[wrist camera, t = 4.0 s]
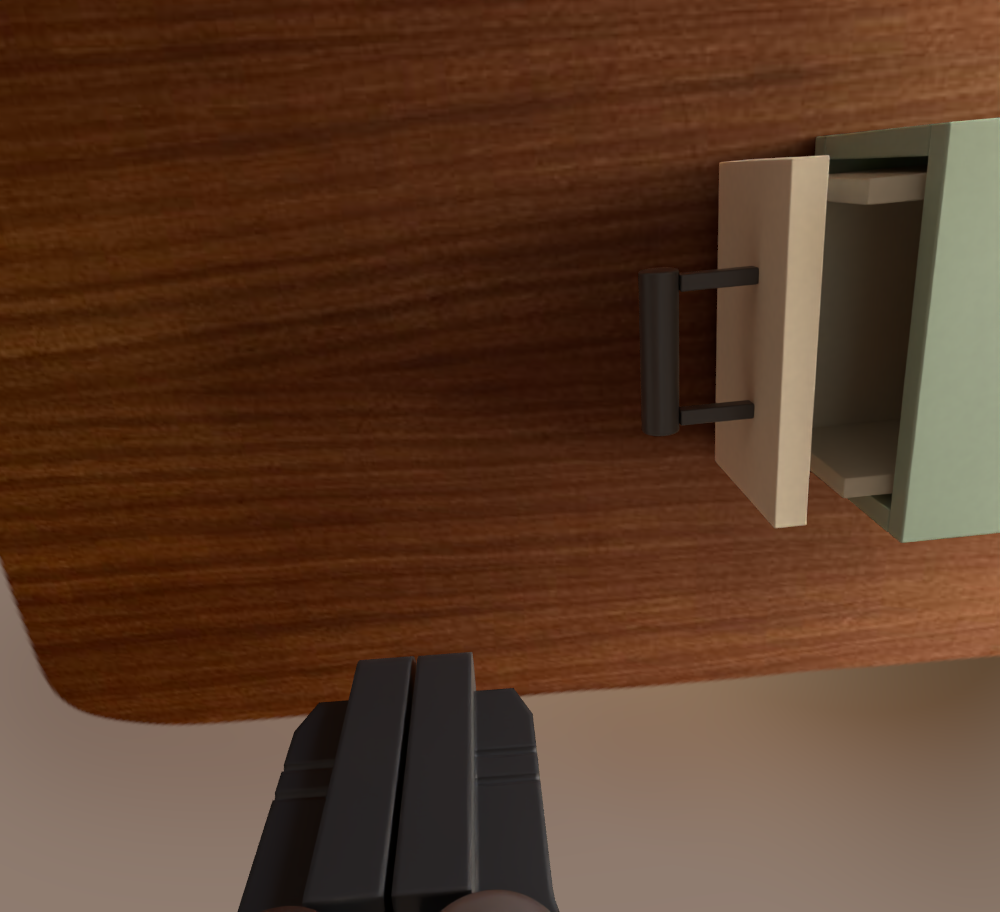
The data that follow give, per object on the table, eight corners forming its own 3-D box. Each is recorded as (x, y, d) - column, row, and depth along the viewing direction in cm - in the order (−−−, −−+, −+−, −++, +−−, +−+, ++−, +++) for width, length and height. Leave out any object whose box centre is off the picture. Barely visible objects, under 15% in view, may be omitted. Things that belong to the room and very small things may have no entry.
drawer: (621, 470, 34) (659, 540, 27) (612, 172, 29) (655, 171, 23) (1076, 424, 34) (1221, 483, 27) (1136, 122, 29) (1325, 107, 23)
